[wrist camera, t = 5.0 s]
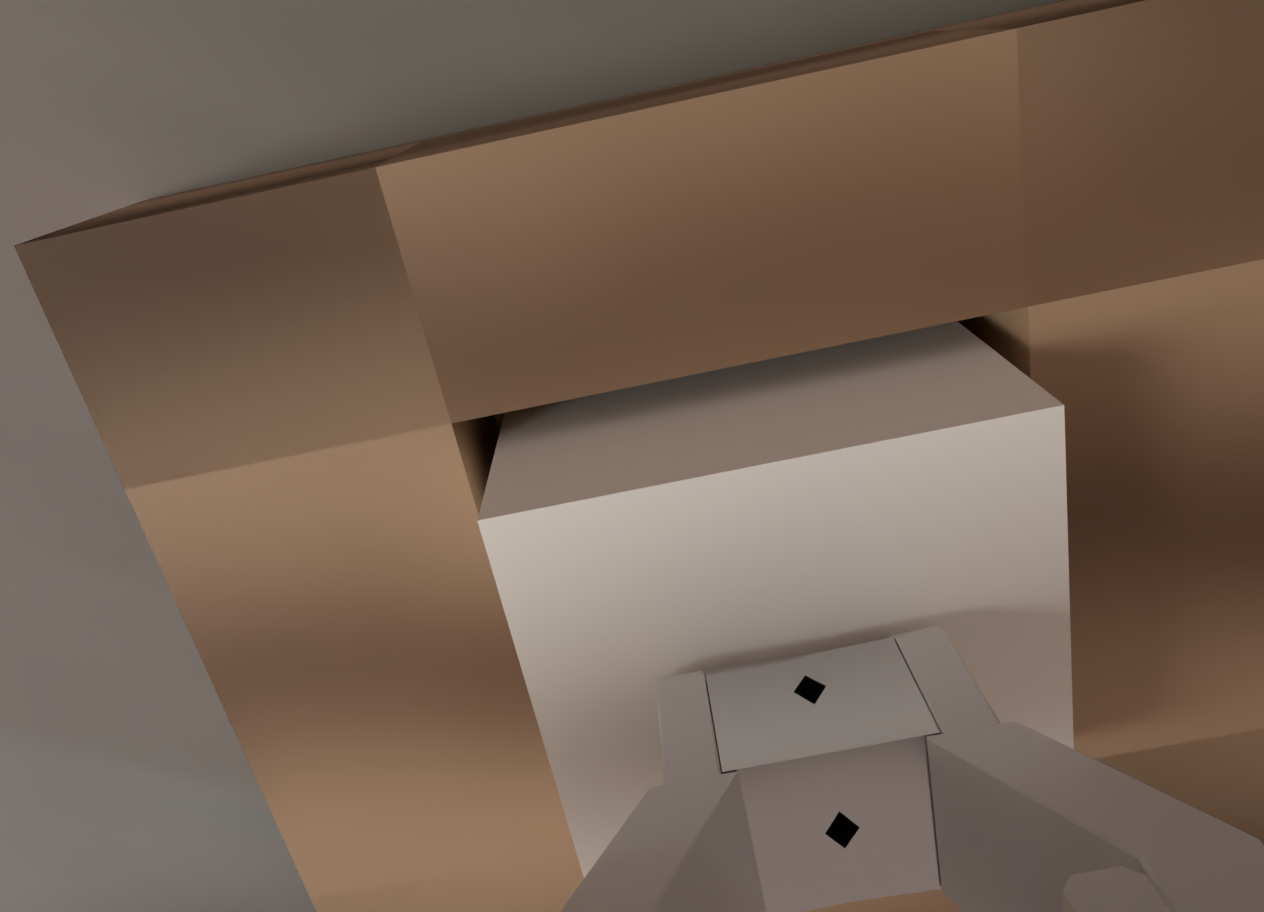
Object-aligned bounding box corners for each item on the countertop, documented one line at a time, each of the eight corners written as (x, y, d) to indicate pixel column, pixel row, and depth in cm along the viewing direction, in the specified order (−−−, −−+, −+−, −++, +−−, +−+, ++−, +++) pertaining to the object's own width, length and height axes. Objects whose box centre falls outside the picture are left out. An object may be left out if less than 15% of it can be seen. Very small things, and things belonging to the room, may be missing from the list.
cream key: (505, 411, 12) (478, 519, 9) (954, 319, 12) (1064, 405, 9) (600, 762, 14) (600, 934, 11) (982, 692, 14) (1077, 853, 11)
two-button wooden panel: (141, 200, 13) (13, 245, 10) (1228, -36, 12) (1419, -59, 9) (560, 1263, 22) (555, 1439, 19) (1184, 1165, 21) (1271, 1332, 19)
